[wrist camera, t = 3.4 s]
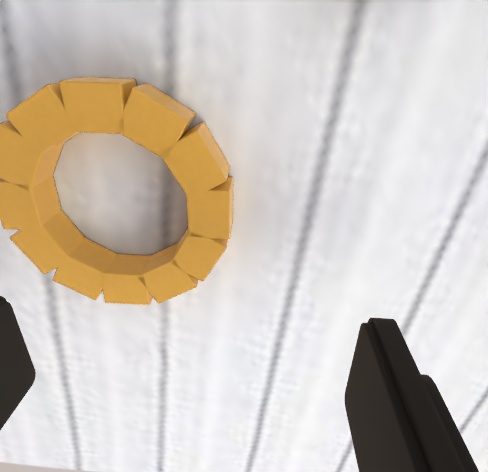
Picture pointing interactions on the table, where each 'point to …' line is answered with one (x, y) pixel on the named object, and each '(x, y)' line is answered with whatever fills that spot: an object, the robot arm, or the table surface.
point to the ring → (145, 134)
